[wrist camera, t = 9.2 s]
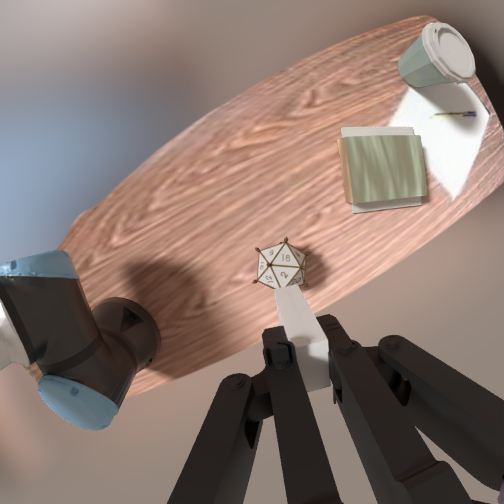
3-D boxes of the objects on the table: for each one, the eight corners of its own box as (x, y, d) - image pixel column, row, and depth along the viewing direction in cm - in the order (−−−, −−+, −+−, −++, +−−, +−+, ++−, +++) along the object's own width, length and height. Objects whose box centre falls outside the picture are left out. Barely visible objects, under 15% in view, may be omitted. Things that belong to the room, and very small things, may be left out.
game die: (284, 245, 48) (328, 241, 40) (281, 294, 47) (325, 299, 39) (240, 237, 43) (282, 230, 35) (236, 292, 42) (277, 298, 34)
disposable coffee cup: (436, 70, 36) (482, 49, 21) (426, 110, 38) (478, 95, 24) (393, 40, 35) (433, 7, 20) (380, 78, 37) (425, 49, 23)
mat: (351, 212, 43) (353, 213, 43) (340, 128, 40) (341, 127, 39) (419, 204, 43) (421, 204, 42) (410, 127, 39) (412, 127, 39)
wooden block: (353, 203, 39) (427, 195, 38) (344, 136, 36) (420, 135, 36) (345, 201, 42) (416, 193, 42) (337, 139, 40) (409, 137, 39)
